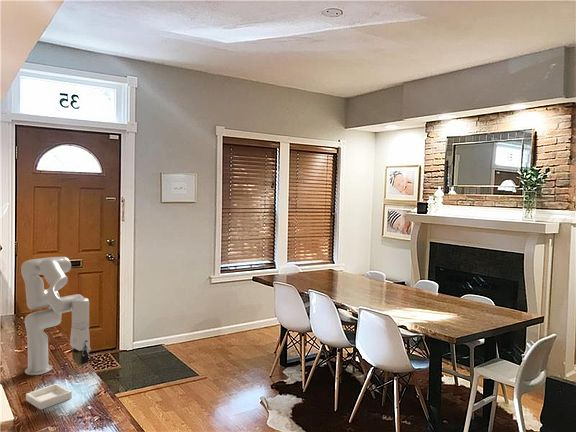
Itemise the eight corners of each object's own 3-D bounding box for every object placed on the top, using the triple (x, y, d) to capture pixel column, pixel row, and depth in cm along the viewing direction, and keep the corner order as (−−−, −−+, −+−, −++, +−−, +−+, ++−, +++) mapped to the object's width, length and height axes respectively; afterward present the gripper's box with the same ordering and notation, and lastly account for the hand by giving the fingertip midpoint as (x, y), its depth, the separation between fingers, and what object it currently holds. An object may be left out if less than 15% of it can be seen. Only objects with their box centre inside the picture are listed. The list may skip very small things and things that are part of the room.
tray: (26, 400, 211) (25, 393, 210) (56, 389, 222) (56, 383, 221) (40, 409, 202) (40, 402, 202) (71, 398, 213) (71, 391, 213)
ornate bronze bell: (72, 363, 221) (72, 347, 220) (89, 361, 224) (89, 345, 223) (71, 369, 214) (71, 352, 213) (88, 367, 217) (88, 351, 216)
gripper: (63, 322, 219) (63, 358, 221) (82, 330, 209) (82, 368, 210) (78, 318, 225) (78, 354, 227) (98, 326, 215) (97, 363, 216)
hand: (80, 360), depth 218 cm, fingers closed on ornate bronze bell, 7 cm apart
